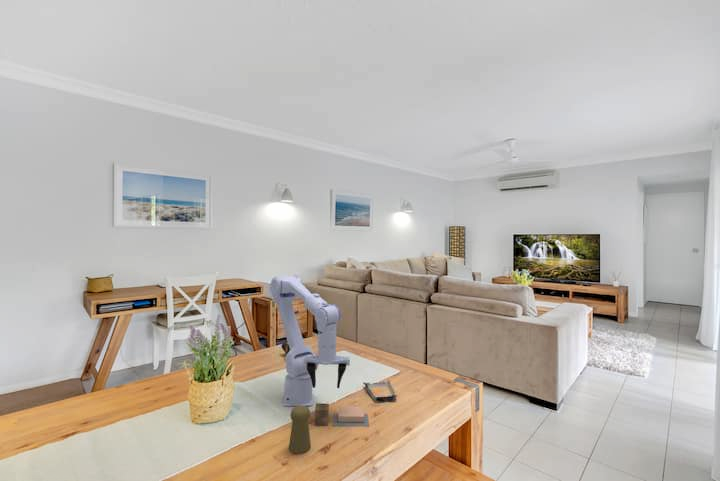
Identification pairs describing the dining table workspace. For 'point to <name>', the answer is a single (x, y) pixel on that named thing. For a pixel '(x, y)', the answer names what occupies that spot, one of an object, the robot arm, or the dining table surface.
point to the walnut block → (321, 414)
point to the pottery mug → (286, 348)
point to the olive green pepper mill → (300, 430)
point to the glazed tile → (351, 414)
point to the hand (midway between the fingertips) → (326, 386)
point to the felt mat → (337, 423)
